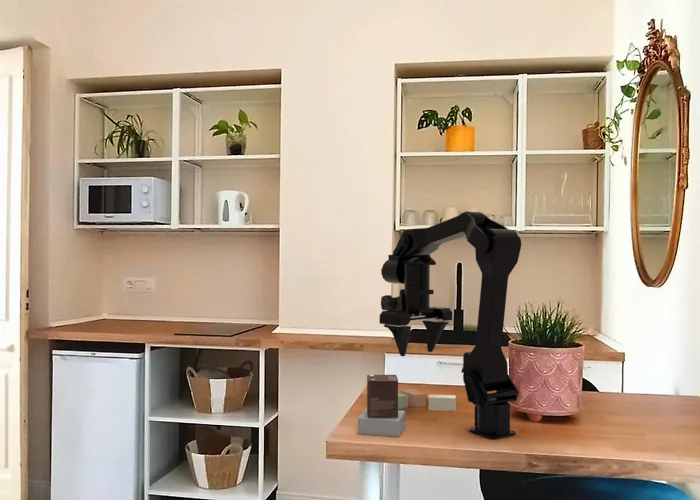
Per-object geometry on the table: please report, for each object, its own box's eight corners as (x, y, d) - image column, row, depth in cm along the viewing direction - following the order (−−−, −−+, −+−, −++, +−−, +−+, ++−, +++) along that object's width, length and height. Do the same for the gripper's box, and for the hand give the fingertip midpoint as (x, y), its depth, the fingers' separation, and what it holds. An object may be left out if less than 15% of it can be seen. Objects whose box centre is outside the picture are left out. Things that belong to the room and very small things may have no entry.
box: (398, 418, 121) (398, 380, 121) (367, 418, 121) (367, 380, 121) (396, 410, 127) (396, 374, 127) (366, 410, 127) (366, 374, 127)
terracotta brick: (425, 406, 144) (425, 393, 144) (414, 408, 142) (414, 395, 142) (410, 401, 149) (410, 388, 149) (399, 402, 147) (399, 390, 147)
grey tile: (405, 425, 127) (405, 410, 127) (398, 436, 119) (399, 421, 120) (366, 422, 129) (366, 408, 129) (357, 433, 121) (357, 418, 121)
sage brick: (397, 405, 145) (398, 392, 145) (407, 408, 143) (407, 394, 143) (379, 410, 141) (379, 396, 141) (389, 412, 139) (389, 399, 139)
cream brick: (455, 408, 142) (455, 395, 142) (455, 411, 139) (455, 398, 139) (428, 407, 143) (428, 394, 143) (428, 410, 140) (428, 397, 140)
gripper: (418, 282, 155) (417, 345, 155) (362, 284, 142) (362, 353, 142) (454, 284, 146) (453, 351, 146) (398, 287, 134) (397, 360, 134)
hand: (416, 353), depth 142 cm, fingers open, 9 cm apart
